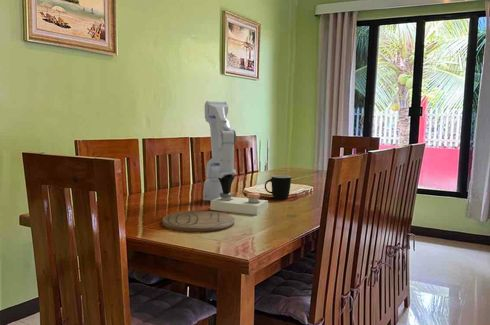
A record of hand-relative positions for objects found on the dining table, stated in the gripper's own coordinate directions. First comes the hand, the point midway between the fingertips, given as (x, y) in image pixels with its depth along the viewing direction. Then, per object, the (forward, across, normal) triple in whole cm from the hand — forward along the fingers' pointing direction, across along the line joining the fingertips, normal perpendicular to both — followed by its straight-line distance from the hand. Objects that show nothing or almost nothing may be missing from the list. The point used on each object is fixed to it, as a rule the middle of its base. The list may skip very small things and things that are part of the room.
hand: (226, 193), depth 180 cm
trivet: (+7, -27, -2) cm, 28 cm away
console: (+6, 0, -6) cm, 8 cm away
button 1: (+3, 0, 0) cm, 3 cm away
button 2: (+3, 0, -12) cm, 12 cm away
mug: (+6, +31, -12) cm, 34 cm away
